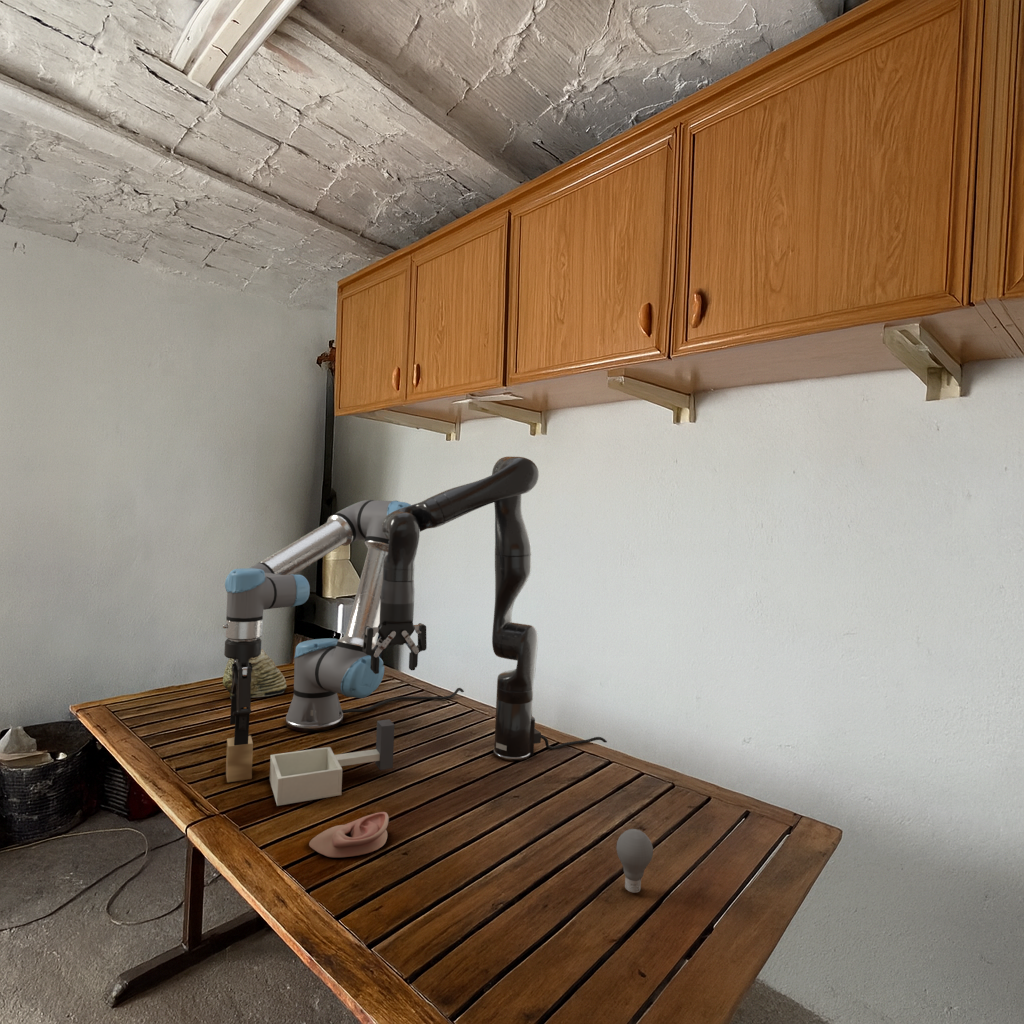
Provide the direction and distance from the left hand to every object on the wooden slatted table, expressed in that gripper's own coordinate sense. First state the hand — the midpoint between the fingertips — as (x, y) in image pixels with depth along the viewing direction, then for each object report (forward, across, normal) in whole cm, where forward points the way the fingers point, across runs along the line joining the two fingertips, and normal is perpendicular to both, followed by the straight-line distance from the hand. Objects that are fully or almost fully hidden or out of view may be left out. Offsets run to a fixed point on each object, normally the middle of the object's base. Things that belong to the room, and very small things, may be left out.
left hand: (238, 733), depth 141 cm
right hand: (-15, +14, +31) cm, 37 cm away
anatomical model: (+10, +36, +17) cm, 41 cm away
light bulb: (+10, +69, +56) cm, 90 cm away
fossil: (+9, -59, +9) cm, 61 cm away
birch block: (+10, 0, 0) cm, 10 cm away
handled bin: (+10, +11, +19) cm, 24 cm away
